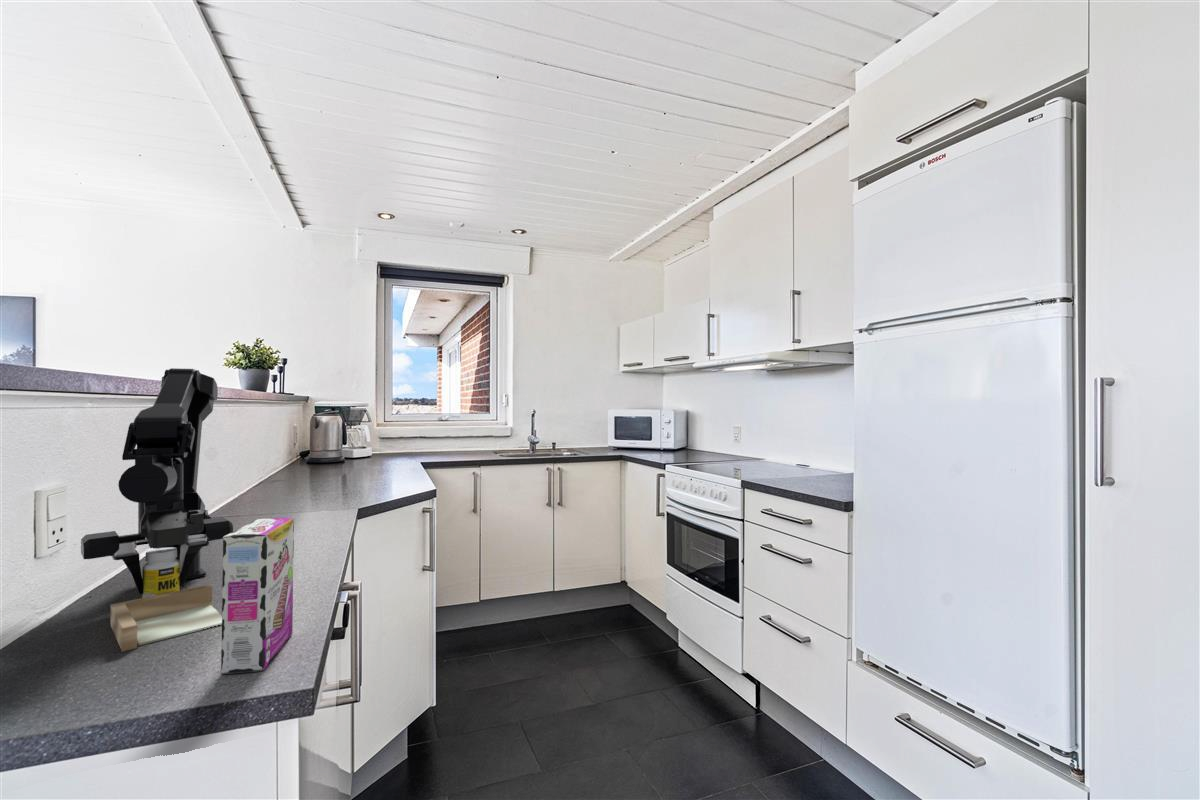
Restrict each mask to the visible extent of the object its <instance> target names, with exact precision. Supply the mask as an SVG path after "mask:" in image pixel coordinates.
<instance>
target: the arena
mask: <svg viewBox="0 0 1200 800" xmlns="http://www.w3.org/2000/svg"><path fill="white" fill-rule="evenodd" d="M109 609H110V616H109V617H110V619H109V620H110V628H111V630H112V632H113V634H114V637H115V639H116V640H117V644H118V645H119V648H120V650H121V653H122V652H127V651H131V650H135V649H138V647H139V646H144V645H148V644H152V643H155V642H159V641H163V640H168V639H171V638H174V637H179V636H183V635H187V634H191V633H194V632H195V633H196V632H199V631H203V629H204V630H207V628H208V629H210V627H212V628H215V627H214V626H216V627H219V626H218V625H220V626H222V613H220V612H219V611H218V610H217V609H216V608H215V607H213V585H212V584H206V585H201V586H197V587H191V588H186V589H181V590H180V591H175V592H170V593H165V594H160V595H155V596H151V597H146V598H142V597H141V598H137V599H132V600H126V601H122V602H116V603H111V604H110V608H109Z"/></svg>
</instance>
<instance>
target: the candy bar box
mask: <svg viewBox="0 0 1200 800" xmlns="http://www.w3.org/2000/svg"><path fill="white" fill-rule="evenodd" d="M294 530H295V518H294V517H274V518H273V517H271V518H259V519H258V518H257V519H256V520H254V521H252V522H250V523H248V524H245V525H243V526H241V527H240V528H238V529H236V530H233V532H232V533H230V534H228V535H225V536H224V537H223V539H222V583H221V584H222V587H221V590H222V591H221V600H222V601H221V603H222V604H221V606H222V607H221V616H222V625H221V644H220V645H221V646H220V647H221V652H220V653H221V655H220V656H221V657H220V660H221V661H220V663H221V664H220V665H221V667H220V674H221V675H231V674H240V673H243V674H245V673H255V672H262V671H264V670H265V669H266V668H268V667H267V666H268V665H270V663H271V662H272V660H273V659H274V658H275V656H276V655H277V653H279V651H280V650H281V649H282V647H284V645H285V644H286V643H287V641H288V640H289V639H290V637H291V636H292V635H293V626H294V625H293V623H294V622H293V614H294V613H293V612H294V611H293V610H294V609H293V608H294V607H293V605H294V603H293V602H294V601H293V600H294V558H295V557H294V555H295V554H294V549H295V547H294V546H295V544H294V543H295V542H294V541H295V538H294V536H295V535H294V533H295V531H294Z"/></svg>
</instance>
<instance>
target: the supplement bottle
mask: <svg viewBox="0 0 1200 800" xmlns="http://www.w3.org/2000/svg"><path fill="white" fill-rule="evenodd" d="M176 557H177V548H174V547H168V548H157V549H154V548H152V549H150V550H148V551H146V552H145V562H146V563H144V564H143V566H142V570H141V575H142V581H143V594H141V598H146V597H151V596H155V595H160V594H165V593H170V592H175V591H180V588H181V587H180V562H179V560H177V559H175V558H176Z"/></svg>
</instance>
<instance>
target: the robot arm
mask: <svg viewBox="0 0 1200 800" xmlns="http://www.w3.org/2000/svg"><path fill="white" fill-rule="evenodd" d="M218 388H219V387H218V383H217V381H216V380H215V378H214V377H212V376H209V375H206V374H204V373H201V372H200V370H197V369H196V368H169V369H165V370H164V375H163V376H162V377H161V385H160V391H159V392H158V395H157V397H156V399H155V401H154V404H153V405H152V406H150V407H147V408H144V409H142V410H140V411H139V413H138V414H137V415H136V416H135V418H134V420H133V422H130V423H129V424H128V429H127V433H126V437H125V443H124V448H123V452H122V455H121V456H122V457H121V459H122V461H134V465H132V466H130V467H129V468H127V469H126V470H124V472H123V473H122V474H121V476H120V478H119V480H118V490H119V492H120V493H121V495H122V496H123V497H124V498H125V499H127V500H128V501H130V502H133V503H137V505H138V506H137V507H138V508H137V509H138V510H137V515H138V517H137V525H138V526H137V528H138V529H137V533H131V534H125V535H119V534H118V533H117V532H116V531H115V530H112V531H104V532H103V531H102V532H97V533H89V534H85V535H84V536H83V537H82V538H81V540H80V554H81V556H82V558H83V560H93V559H100V558H106V557H111V558H112V560H114V561H123V562H124V565H125V566H126V567H127V569H128V572H129V574H130V576H131V579H132V581H133V584H134V585H135V589H136V590H137V593H138V595H141V596H142V594H143V581H142V570H141V562H140V553H139V552H138V550H136V549H137V546H144V545H148V547H149V549H159V548H168V547H174V548H177V557H176V558H175V559H177V560H179V562H180V588H181V587H184V585H185V582H186V580H189V579H194V578H199V577H200V576H201V577H206V576H207V571H205V570H204V569H203V568H202V567H201V549H203V548H205V547H208V546H210V542H213V541H216V540H217V541H218V540H223V537H224V536H225V535H228V534H230V533H232V532H234V525H233V523H232V522H231V521H230V520H228V519H227V518H224V517H223V516H220V517H213V518H212V517H211V516H210V515H209V511H208V510H207V509H206V505H205V503H204V501H203V499H202V498H201V497H200V495H199V493H198V492H197V490H198V489H197V487H198V475H199V464H200V451H201V439H202V431H203V429H202V427H203V422H204V421H205V420H206V418H208V417H209V415H210V414H212V412H213V411H214V401H217V400H218V395H219V394H218V393H219V392H218V390H219V389H218Z"/></svg>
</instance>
